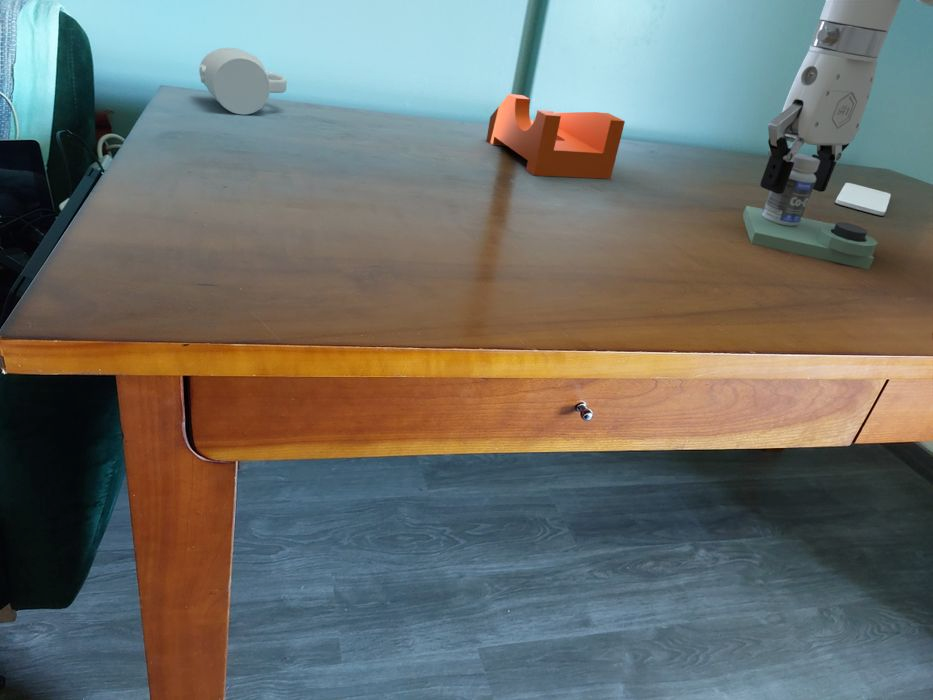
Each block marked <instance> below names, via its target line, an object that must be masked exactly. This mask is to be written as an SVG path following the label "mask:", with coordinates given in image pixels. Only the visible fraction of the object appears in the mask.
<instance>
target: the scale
mask: <svg viewBox="0 0 933 700" xmlns="http://www.w3.org/2000/svg"><path fill="white" fill-rule="evenodd" d="M763 210H764V208H759V207H754V206H750V205H745V208H744V211H743V214H742V219H743V223H744V225H745V229H746V231H747V235H748V238H749V242H750V244H751V245H756V246H760V247H765V248H769V249H774V250H778V251H783V252H786V253H791V254H796V255H800V256H801V255H802V256H806V257H809V258H814V259H819V260H823V261H827V262H832V263H837V264H842V265H845V266H846V265H847V266H850V267H855V268H860V269H864V270H870V268H871V266H872V263H873V261H874V259H875V257H874V256H873V255H874V253H875V251H876V249H877V246H878V242H877V240H875V238H874V237H871V236H869V235H867V234H866V237H865V239H864V241H863V242H857V241H852V240H848V239H844V238H842V237H839V236H837V235H835V234H833V233H832V232H833V230H834V228H835V225H836V223H835V224H834V223H830V222H824V221H822V220H821V221H820V220H817V219H816V220H815V219H810V218H807V217H803V216H802V217H801V220H800V222H799V224H798V225H796V226H786V225H781V224H777V223H774V222H772V221H769V220H767V219H765V218H764V217H763V215H762V213H763Z"/></svg>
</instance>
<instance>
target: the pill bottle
mask: <svg viewBox="0 0 933 700" xmlns="http://www.w3.org/2000/svg"><path fill="white" fill-rule="evenodd" d="M791 162H794V165H793V168H792V171H791V174H790V176H789V179H788V182H787V184H786V187H785V190H784V192H783V193H782V194H777V193H775V192H772V191H770V190H769V193H768V197H767V199H766V202H765V205H764V207H763V209H764V210H763V213H762V215H763V217H764V218H765V219H767V220H769V221H772V222H774V223H777V224H781V225H786V226H796V225H798V224H799V222H800V220H801V217H802V218H803V214H804V212H805V209H806V207H807V205H808V202H809V199H810V197H811V195H812V192H813V190H814V189H813V187H814V185H815V182H816V176H815V175H814V172H816V170H817V169H818V166H819V163H820V160H819V159H817V158H814V157H812V156H811V155H807V154H804V153H798V152H797V153H796V155H795V156H794V157H793V159H792V160H791Z"/></svg>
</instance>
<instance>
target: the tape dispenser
mask: <svg viewBox="0 0 933 700" xmlns="http://www.w3.org/2000/svg"><path fill="white" fill-rule="evenodd" d="M530 103H531V98H529V97H527V96H526V95H523V94H516V93H515V94H513V93H508V94H507V96H506V97H505V98H504V99H503V100H502V101H501V103H500V104H499V106H498V107H497V108H496V109H495V110H494V112H493V113H492V114H491V115H490V117H489V122H488V129H487V135H486V141H487V142H488V143H489V144H491V145H492V146H503V147H507V148H508V147H509V148H510V149H511V150H512V151H514V152H515V153H517V154H518V155H520V156H521V157H522V158H523V159H525V160H527V162H526V167H525V170H526V171H527V172H529V173H530V174H531V175H532V176H536V177H537V176H538V177H540V176H541V177H560V178H561V177H562V178H581V179H582V178H585V179H604V180H605V179H607V180H611V179H612V175H613V170H614V167H615V162H616V160H617V159H616V158H617V155H618V151H619V147H620V143H621V139H622V135H623V131H624V128H625V123H626V122H625V120H623V119H621V118H619V117H617V116H615V115H613V114H611V113H609V112H600V111H599V112H598V111H582V112H579V111H578V112H554V111H552V110H541V109H539V110H537V109H536V114H535V117H534V120H533V119H531V116H530V105H531V104H530Z"/></svg>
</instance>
